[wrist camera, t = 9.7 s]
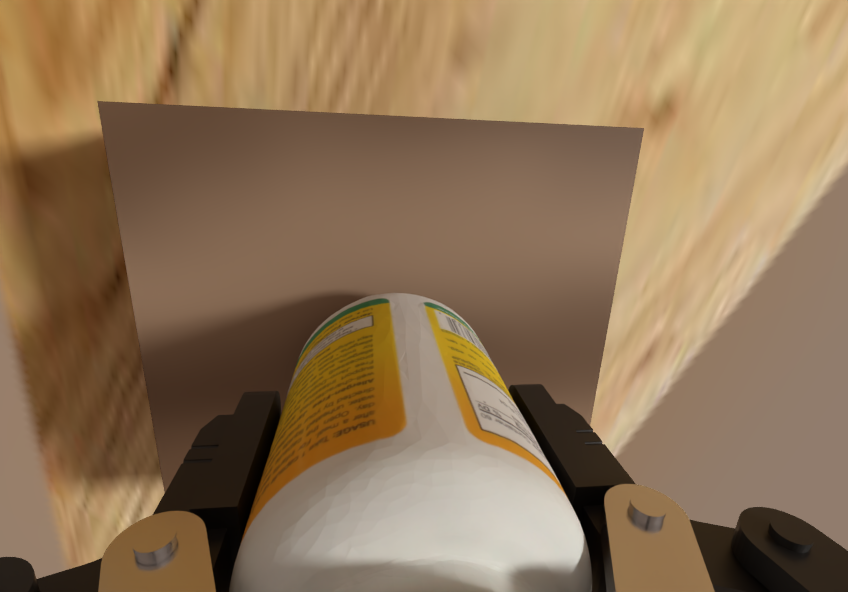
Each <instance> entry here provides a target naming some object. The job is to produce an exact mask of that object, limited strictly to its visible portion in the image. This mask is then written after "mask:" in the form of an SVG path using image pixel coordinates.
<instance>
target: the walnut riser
mask: <svg viewBox="0 0 848 592" xmlns="http://www.w3.org/2000/svg"><path fill="white" fill-rule="evenodd" d="M97 102H98V107H99V113H100V119H101V125H102V131H103V136H104V142H105V148H106V154H107V160H108V166H109V171H110V177H111V183H112V189H113V195H114V200H115V206H116V212H117V218H118V224H119V229H120V235H121V241H122V247H123V253H124V259H125V264H126V270H127V276H128V282H129V288H130V293H131V299H132V305H133V311H134V317H135V322H136V328H137V334H138V340H139V346H140V352H141V357H142V363H143V369H144V375H145V381H146V386H147V392H148V398H149V404H150V410H151V415H152V421H153V427H154V433H155V439H156V445H157V450H158V456H159V462H160V468H161V474H162V479H163V485H164V491H165V492H166V490H167V488H168V487H169V485H170V483H171V481H172V479H173V478H174V476H175V474H176V472H177V470H178V469H179V467H180V465H181V464H183V460H184V458H185V456H186V454H187V452H188V451H189V449H191V445H192V443H193V442H194V440H195V438H196V436H197V434H198V433H199V431H200V429H201V428H203V427H204V426H205V425H206V424H208V423H209V422H210V421H211V420H213V419H214V418H215V417H216V416H217V415H231V414H234V412H235V410H236V408H237V405H238V403H239V401H240V399H241V397H242V395H243V393H244V392H257V391H278V392H279V394H280V400H281V413H282V410H283V407H284V404H285V401H286V397H287V393H288V390H289V387H290V384H291V380H292V377H293V374H294V371H295V368H296V364H297V361H298V359H299V356H300V354H301V352H302V350H303V348H304V346H305V344H306V342H307V341H308V339H309V338H310V336H311V335H312V334H313V333H314V331H315V330H316V329H317V328H318V327H319V326H320V325H321V324H322V323H323V322H324V321H325V320H326V319H327V318H329V317H330V316H331V315H333V314H334V313H336V312H337V311H339V310H340V309H342V308H343V307H345V306H347V305H349V304H351V303H353V302H355V301H357V300H360V299H362V298H365V297H368V296H371V295H378V294H387V293H407V294H414V295H419V296H423V297H426V298H429V299H432V300H435V301H437V302H439V303H442V304H444V305H445V306H447V307H449V308H450V309H452V310H453V311H454V312H456V313H457V314H458V315H459V316H460V317H462V318H463V319H464V320H465V321H466V322H467V323H468V324H469V326H470V327H471V328H472V329H473V331H474V332H475V333H476V335H477V337H478V338H479V340H480V341H481V343H482V345H483V346H484V348H485V350H486V351H487V353H488V355H489V357H490V359H491V360H492V362H493V364H494V366H495V367H496V369H497V371H498V373H499V375H500V376H501V378H502V380H503V382H504V384H505V386H506V388H507V389H509V387H510V385H521V384H542V385H543V386H544V387H545V389H546V390H547V392H548V393H549V394H550V396H551V397H552V398H553V400H554V401H555V403H556V404H565V405H567V406H568V407H570V408H571V409H573V410H574V411H576V412H577V413H579V414H580V415H582V416H583V418H584V419H585V420H586V421H587V423H588V424H589V425H590V422H591V417H592V411H593V406H594V400H595V395H596V389H597V384H598V378H599V373H600V367H601V362H602V356H603V351H604V345H605V340H606V334H607V329H608V323H609V318H610V312H611V307H612V301H613V296H614V290H615V285H616V279H617V274H618V268H619V263H620V257H621V252H622V246H623V241H624V235H625V230H626V224H627V219H628V213H629V208H630V203H631V197H632V192H633V186H634V181H635V175H636V170H637V164H638V159H639V153H640V148H641V142H642V137H643V131H644V128H628V127H607V126H587V125H567V124H547V123H527V122H506V121H486V120H466V119H446V118H426V117H405V116H385V115H365V114H345V113H325V112H305V111H284V110H264V109H244V108H224V107H204V106H183V105H163V104H143V103H123V102H103V101H97Z"/></svg>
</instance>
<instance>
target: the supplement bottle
mask: <svg viewBox="0 0 848 592" xmlns="http://www.w3.org/2000/svg"><path fill="white" fill-rule="evenodd" d="M229 592H592V568H591V561H590V555H589V550H588V546H587V542H586V538H585V535H584V532H583V529H582V527H581V524H580V522H579V520H578V518H577V515H576V513H575V511H574V509H573V507H572V505H571V503H570V502H569V500H568V498H567V496H566V494H565V492H564V490H563V488H562V486H561V484H560V482H559V480H558V479H557V477H556V475H555V473H554V471H553V470H552V468H551V466H550V464H549V462H548V461H547V459H546V457H545V455H544V454H543V452H542V450H541V448H540V446H539V445H538V443H537V441H536V439H535V437H534V435H533V434H532V432H531V430H530V428H529V426H528V425H527V423H526V421H525V420H524V418H523V416H522V414H521V413H520V411H519V409H518V407H517V406H516V404H515V402H514V400H513V399H512V397H511V395H510V393H509V391H508V389H507V388H506V386H505V384H504V382H503V380H502V378H501V376H500V375H499V373H498V371H497V369H496V367H495V366H494V364H493V362H492V360H491V359H490V357H489V355H488V353H487V351H486V350H485V348H484V346H483V345H482V343H481V341H480V340H479V338H478V337H477V335H476V333H475V332H474V331H473V329H472V328H471V327H470V326H469V324H468V323H467V322H466V321H465V320H464V319H463V318H462V317H460V316H459V315H458V314H457V313H456V312H454V311H453V310H452V309H450V308H449V307H447V306H445V305H444V304H442V303H439V302H437V301H435V300H432V299H429V298H426V297H423V296H419V295H414V294H407V293H387V294H378V295H371V296H368V297H365V298H362V299H360V300H357V301H355V302H353V303H351V304H349V305H347V306H345V307H343V308H342V309H340V310H339V311H337V312H336V313H334V314H333V315H331V316H330V317H329V318H327V319H326V320H325V321H324V322H323V323H322V324H321V325H320V326H319V327H318V328H317V329H316V330H315V331H314V333H313V334H312V335H311V336H310V338H309V339H308V341H307V342H306V344H305V346H304V348H303V350H302V352H301V354H300V356H299V359H298V361H297V364H296V368H295V371H294V374H293V377H292V380H291V384H290V387H289V390H288V393H287V397H286V401H285V404H284V407H283V410H282V413H281V416H280V420H279V423H278V426H277V430H276V433H275V437H274V439H273V443H272V445H271V448H270V452H269V456H268V459H267V462H266V465H265V468H264V471H263V474H262V477H261V481H260V483H259V486H258V489H257V492H256V496H255V499H254V502H253V505H252V508H251V511H250V514H249V518H248V521H247V524H246V528H245V531H244V534H243V538H242V541H241V544H240V548H239V551H238V554H237V557H236V561H235V564H234V568H233V572H232V577H231V582H230V587H229Z"/></svg>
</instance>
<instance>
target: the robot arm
mask: <svg viewBox="0 0 848 592" xmlns="http://www.w3.org/2000/svg"><path fill="white" fill-rule="evenodd" d="M508 391H509V393H510V395H511V397H512V399H513V400H514V402H515V404H516V406H517V407H518V409H519V411H520V413H521V414H522V416H523V418H524V420H525V421H526V423H527V425H528V426H529V428H530V430H531V432H532V434H533V435H534V437H535V439H536V441H537V443H538V445H539V446H540V448H541V450H542V452H543V454H544V455H545V457H546V459H547V461H548V462H549V464H550V466H551V468H552V470H553V471H554V473H555V475H556V477H557V479H558V480H559V482H560V484H561V486H562V488H563V490H564V492H565V494H566V496H567V498H568V500H569V502H570V503H571V505H572V507H573V509H574V511H575V513H576V515H577V518H578V520H579V522H580V524H581V527H582V529H583V532H584V535H585V538H586V542H587V546H588V550H589V555H590V561H591V568H592V592H848V551H847V550H846V549H844V548H843V547H841V546H840V545H839V544H837V543H836V542H834V541H833V540H832V539H830V538H829V537H827V536H826V535H825V534H823V533H822V532H820V531H819V530H817V529H816V528H815V527H813V526H811V525H810V524H808V523H806V522H805V521H803V520H801V519H799V518H797V517H795V516H793V515H790V514H788V513H785V512H782V511H779V510H776V509H771V508H765V507H753V508H748V509H746V510H744V511H743V512H742V513H741V514H740V516H739V520H738V522H737V526H736V528H735V529H734V528H729V527H723V526H718V525H713V524H708V523H702V522H697V521H693V520H689V518H688V516H687V515H686V513H685V512H684V510H683V509H682V508H681V507H680V506H679V505H678V504H677V503H676V502H674V501H673V500H672V499H670V498H669V497H667V496H666V495H664V494H662V493H660V492H658V491H656V490H654V489H651V488H648V487H645V486H641V485H636V484H635V483H634V481H633V480H632V479H631V477H630V476H629V475H628V474H627V472H626V471H625V470H624V469H623V467H622V466H621V465H620V463H619V462H618V461H617V460H616V458H615V457H614V456H613V455H612V453H611V452H610V451H609V449H608V448H607V447H606V446H605V444H604V445H603V444H602V441H601V439H600V438H599V437H598V435H597V434H596V433H595V432H593V429H592V428H591V427H590V425H589V424H588V423H587V421H586V420H585V419H584V418H583V416H582V415H580V414H579V413H577V412H576V411H574V410H573V409H571V408H570V407H568V406H567V405H565V404H556V403H555V401H554V400H553V398H552V397H551V396H550V394H549V393H548V392H547V390H546V389H545V387H544V386H543V385H542V384H521V385H510V387H509V389H508ZM280 416H281V400H280V394H279V392H278V391H257V392H244V393H243V395H242V397H241V399H240V401H239V403H238V405H237V408H236V410H235V412H234V414H231V415H217V416H216V417H215V418H214V419H213V420H211V421H210V422H209V423H208V424H206V425H205V426H204V427H203V428H201V429H200V431H199V433H198V434H197V436H196V438H195V440H194V442H193V443H192V445H191V449H189V451H188V452H187V454H186V456H185V458H184V460H183V464H181V465H180V467H179V469H178V470H177V472H176V474H175V476H174V478H173V479H172V481H171V483H170V485H169V487H168V488H167V490H166V492H165V494H164V496H163V497H162V499H161V501H160V503H159V505H158V506H157V508H156V510H155V512H154V514H153V515H152V516H149V517H146V518H144V519H142V520H140V521H138V522H136V523H135V524H133V525H131V526H130V527H128V528H127V529H125V530H124V531H123V532H122V533H120V534H119V535H118V536H117V537H116V538H115V539H114V540H113V541H112V542H111V544H110V545H109V546H108V548H107V549H106V551H105V553H104V555H103V558H101V559H99V560H96V561H94V562H91V563H88V564H85V565H82V566H78V567H75V568H72V569H69V570H65V571H62V572H59V573H56V574H52V575H49V576H46V577H42V578H39V579H36V576H35V573H34V570H33V568H32V566H31V564H30V563H28V561H26V560H23V559H21V558H16V557H1V558H0V592H229V587H230V582H231V577H232V572H233V568H234V564H235V561H236V557H237V554H238V551H239V548H240V544H241V541H242V538H243V534H244V531H245V528H246V524H247V521H248V518H249V514H250V511H251V508H252V505H253V502H254V499H255V496H256V492H257V489H258V486H259V483H260V481H261V477H262V474H263V471H264V468H265V465H266V462H267V459H268V456H269V452H270V448H271V445H272V443H273V439H274V437H275V433H276V430H277V426H278V423H279V420H280Z"/></svg>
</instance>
